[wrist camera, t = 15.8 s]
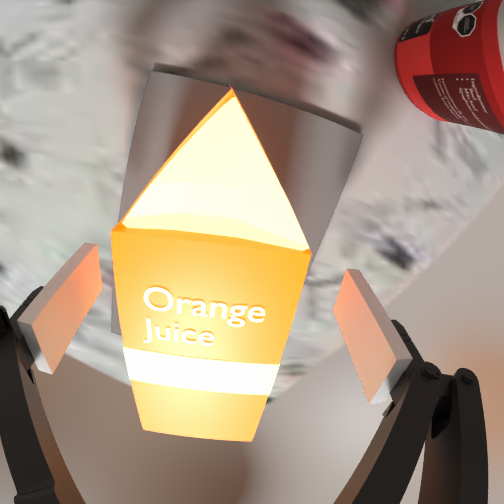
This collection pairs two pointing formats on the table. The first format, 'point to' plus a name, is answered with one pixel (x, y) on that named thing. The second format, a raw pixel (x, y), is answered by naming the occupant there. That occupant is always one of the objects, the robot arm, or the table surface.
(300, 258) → the orange juice
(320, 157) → the mat
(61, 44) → the table surface
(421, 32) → the canned food
